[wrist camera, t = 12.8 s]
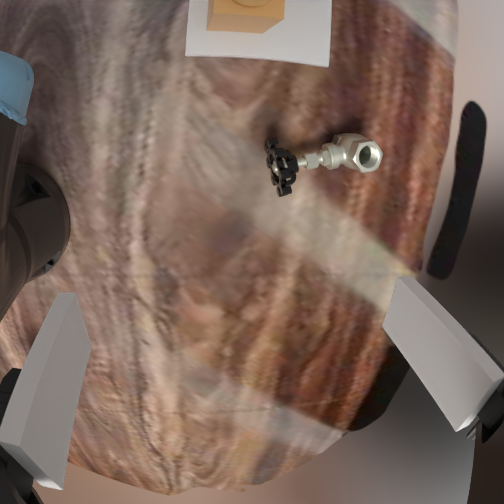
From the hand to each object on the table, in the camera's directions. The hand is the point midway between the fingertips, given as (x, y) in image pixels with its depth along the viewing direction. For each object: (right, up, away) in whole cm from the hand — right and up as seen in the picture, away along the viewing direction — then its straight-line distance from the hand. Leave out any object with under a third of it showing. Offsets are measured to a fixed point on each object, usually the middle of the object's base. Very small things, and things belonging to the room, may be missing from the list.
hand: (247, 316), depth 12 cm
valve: (+8, +15, +25) cm, 30 cm away
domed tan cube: (-2, +28, +14) cm, 32 cm away
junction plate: (+1, +31, +15) cm, 34 cm away
